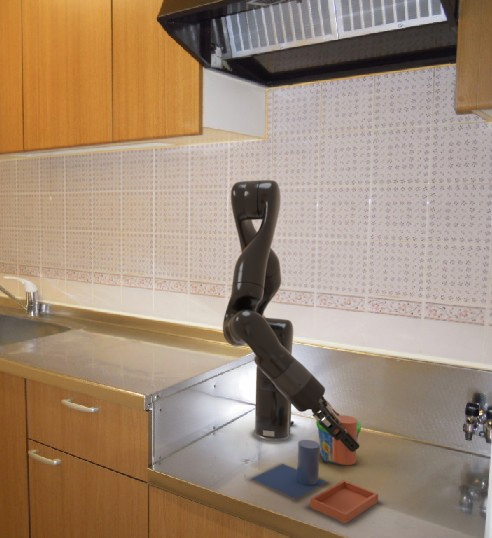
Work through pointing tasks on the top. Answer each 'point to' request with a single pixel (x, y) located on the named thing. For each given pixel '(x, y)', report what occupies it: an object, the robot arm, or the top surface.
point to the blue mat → (285, 481)
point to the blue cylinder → (308, 462)
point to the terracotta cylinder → (338, 448)
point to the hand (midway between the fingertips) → (353, 443)
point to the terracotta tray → (344, 501)
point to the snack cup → (328, 443)
